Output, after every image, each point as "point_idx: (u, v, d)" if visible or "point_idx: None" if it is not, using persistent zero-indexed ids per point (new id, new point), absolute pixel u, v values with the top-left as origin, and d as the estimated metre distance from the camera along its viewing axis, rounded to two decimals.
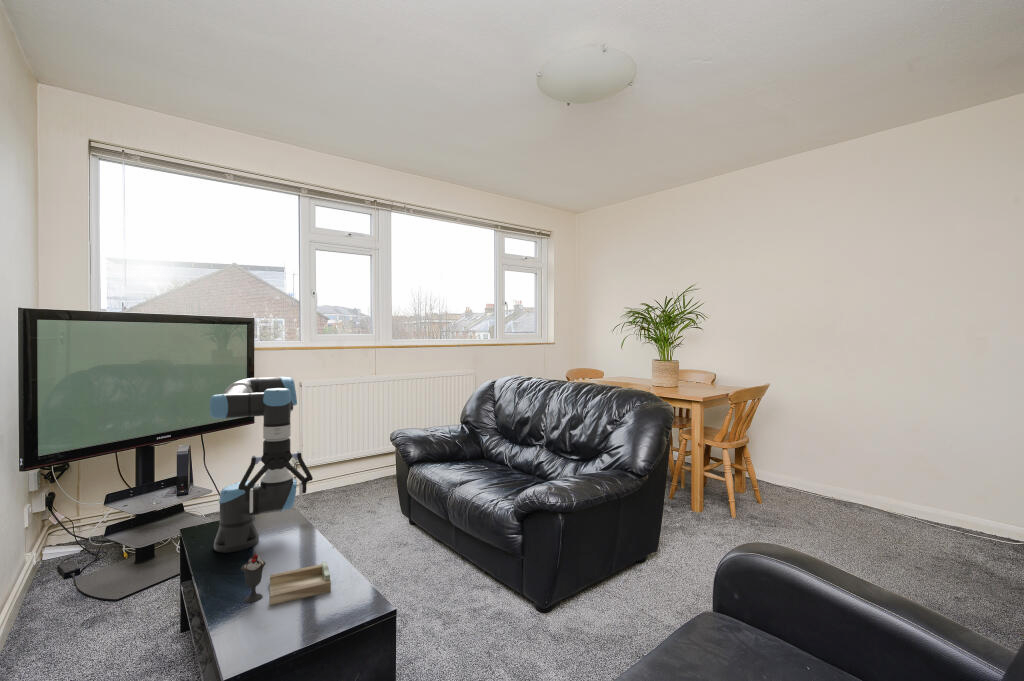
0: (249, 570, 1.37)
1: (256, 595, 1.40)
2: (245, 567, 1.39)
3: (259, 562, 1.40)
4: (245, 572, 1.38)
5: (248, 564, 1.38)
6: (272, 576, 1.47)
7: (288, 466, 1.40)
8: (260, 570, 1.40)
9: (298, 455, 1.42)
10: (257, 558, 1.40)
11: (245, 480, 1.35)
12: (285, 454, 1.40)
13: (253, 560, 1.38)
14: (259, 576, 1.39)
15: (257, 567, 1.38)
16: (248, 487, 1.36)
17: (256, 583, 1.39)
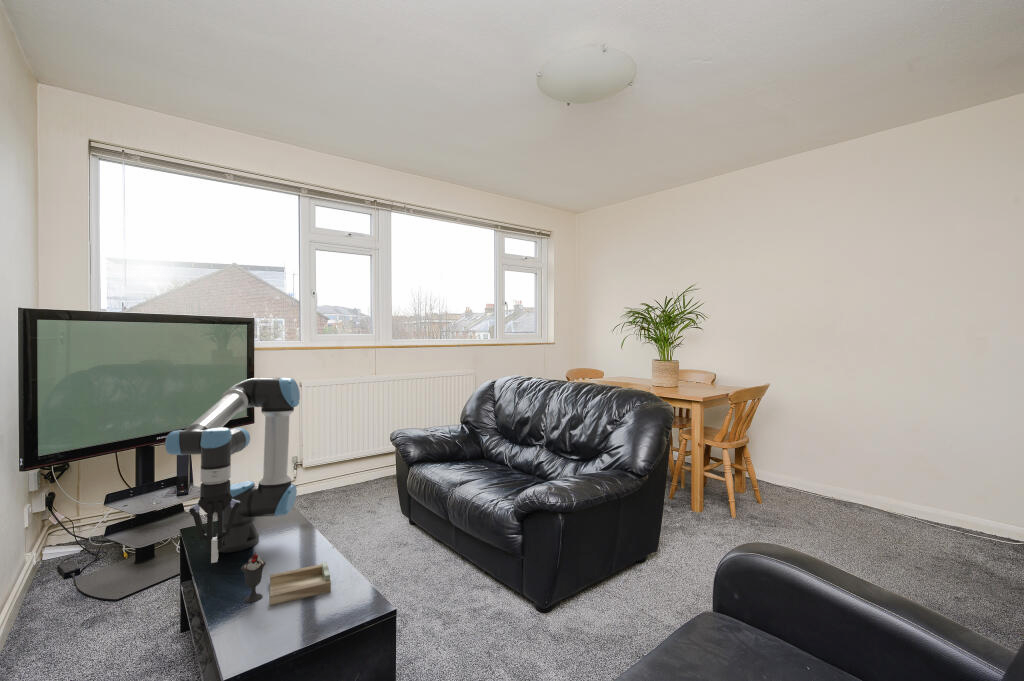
0: (249, 570, 1.37)
1: (256, 595, 1.40)
2: (245, 567, 1.39)
3: (259, 562, 1.40)
4: (245, 572, 1.38)
5: (248, 564, 1.38)
6: (272, 576, 1.47)
7: (220, 513, 1.34)
8: (260, 570, 1.40)
9: (236, 504, 1.37)
10: (257, 558, 1.40)
11: (200, 529, 1.33)
12: (227, 496, 1.36)
13: (253, 560, 1.38)
14: (259, 576, 1.39)
15: (257, 567, 1.38)
16: (208, 537, 1.33)
17: (256, 583, 1.39)
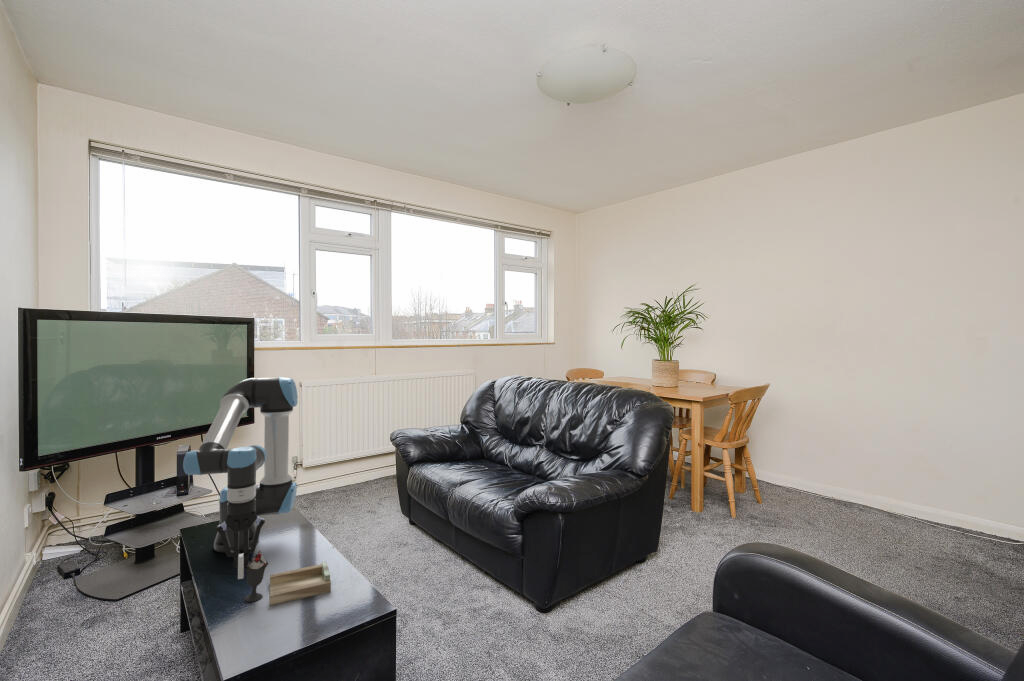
0: (252, 569, 1.38)
1: (256, 595, 1.40)
2: (248, 566, 1.39)
3: (262, 561, 1.40)
4: (248, 571, 1.38)
5: (251, 563, 1.39)
6: (272, 576, 1.47)
7: (246, 531, 1.38)
8: (262, 570, 1.40)
9: (261, 522, 1.40)
10: (260, 557, 1.40)
11: (227, 547, 1.36)
12: (253, 514, 1.39)
13: (256, 559, 1.39)
14: (261, 576, 1.40)
15: (259, 567, 1.39)
16: (235, 554, 1.37)
17: (257, 582, 1.39)
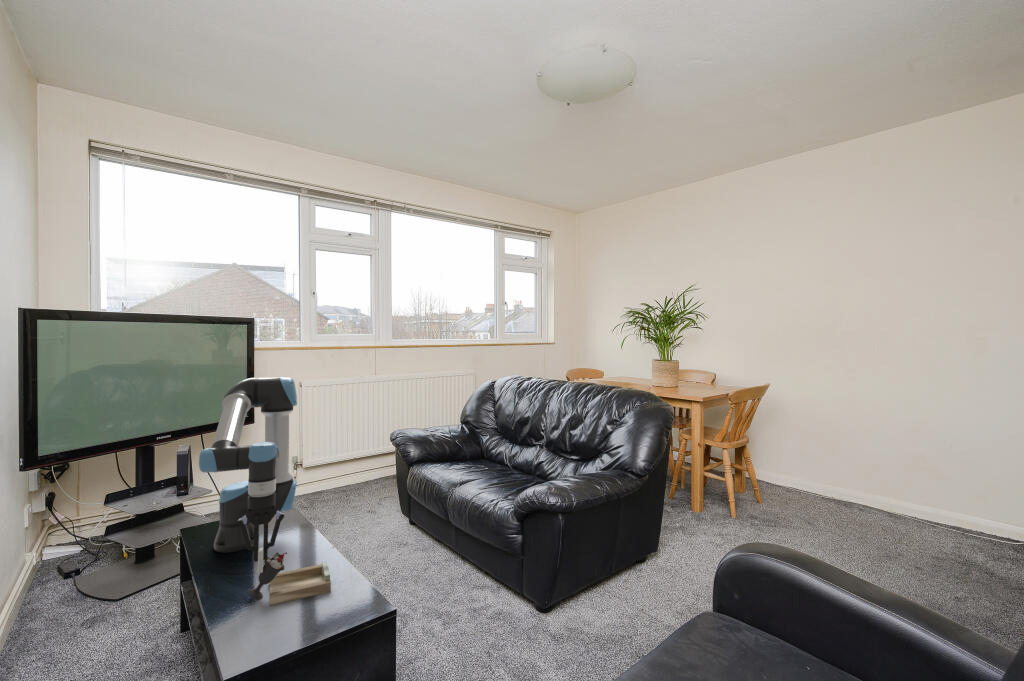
0: (271, 567, 1.39)
1: (259, 593, 1.40)
2: (268, 561, 1.41)
3: (282, 563, 1.42)
4: (266, 566, 1.40)
5: (273, 560, 1.41)
6: None
7: (266, 524, 1.40)
8: (278, 571, 1.41)
9: (281, 516, 1.42)
10: (282, 559, 1.42)
11: (248, 541, 1.38)
12: (272, 508, 1.41)
13: (279, 559, 1.41)
14: (273, 577, 1.41)
15: (278, 568, 1.40)
16: (255, 548, 1.39)
17: (267, 582, 1.40)
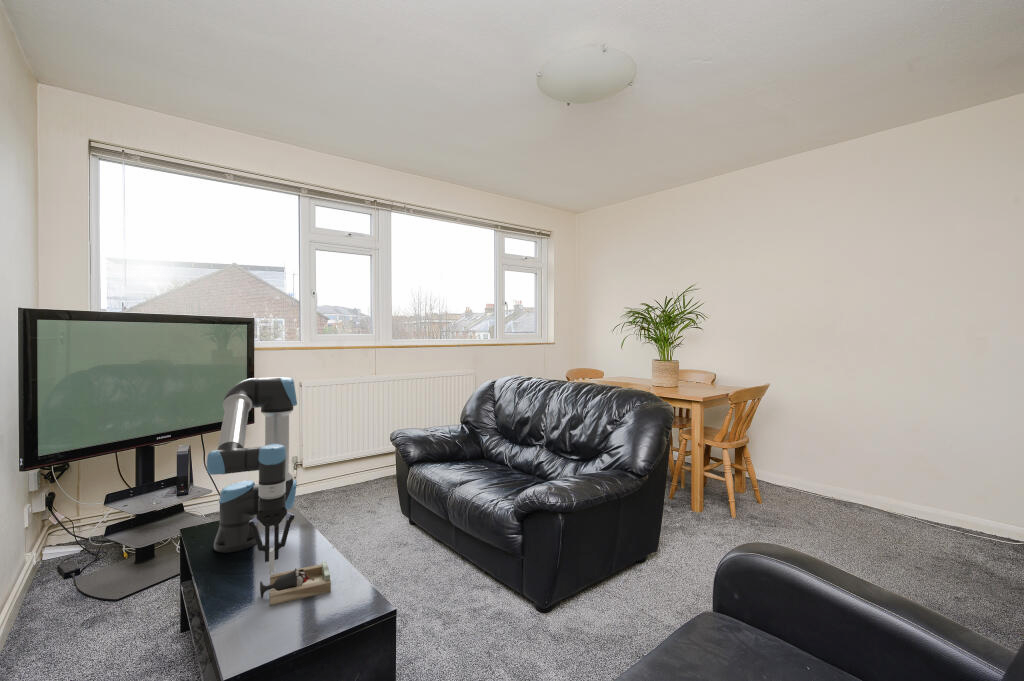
0: (296, 582, 1.42)
1: (264, 592, 1.41)
2: (296, 575, 1.43)
3: None
4: (293, 578, 1.42)
5: (300, 577, 1.44)
6: (272, 576, 1.47)
7: (276, 526, 1.42)
8: None
9: (291, 517, 1.44)
10: None
11: (259, 542, 1.40)
12: (283, 509, 1.43)
13: (305, 580, 1.44)
14: None
15: None
16: (266, 548, 1.41)
17: None
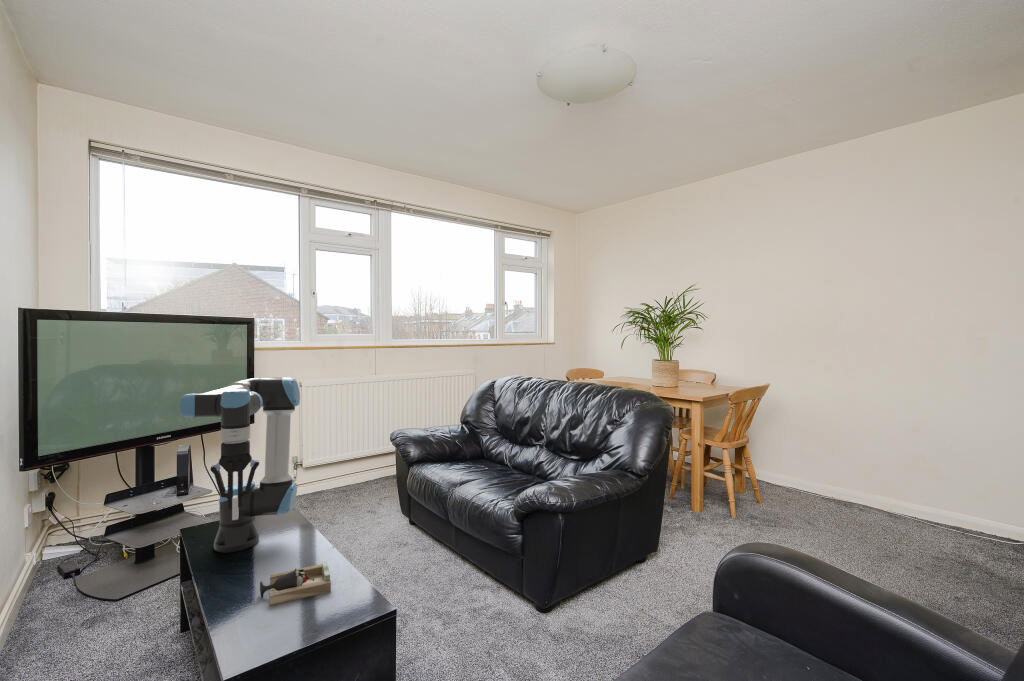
0: (296, 582, 1.42)
1: (264, 592, 1.41)
2: (296, 575, 1.43)
3: None
4: (293, 578, 1.42)
5: (300, 577, 1.44)
6: (272, 576, 1.47)
7: (240, 472, 1.37)
8: None
9: (255, 464, 1.39)
10: None
11: (221, 487, 1.35)
12: (247, 455, 1.38)
13: (305, 581, 1.44)
14: None
15: None
16: (229, 495, 1.36)
17: None
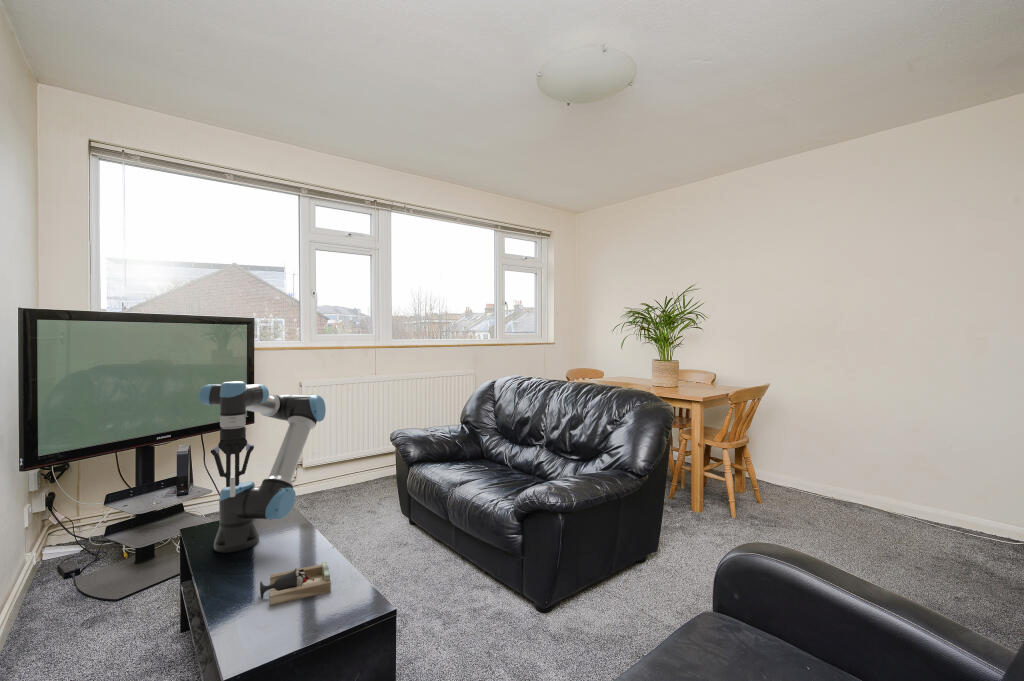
0: (296, 582, 1.42)
1: (264, 592, 1.41)
2: (296, 575, 1.43)
3: None
4: (293, 578, 1.42)
5: (300, 577, 1.44)
6: (272, 576, 1.47)
7: (237, 454, 1.55)
8: None
9: (251, 447, 1.57)
10: None
11: (220, 468, 1.53)
12: (243, 440, 1.56)
13: (305, 581, 1.44)
14: None
15: None
16: (227, 474, 1.54)
17: None
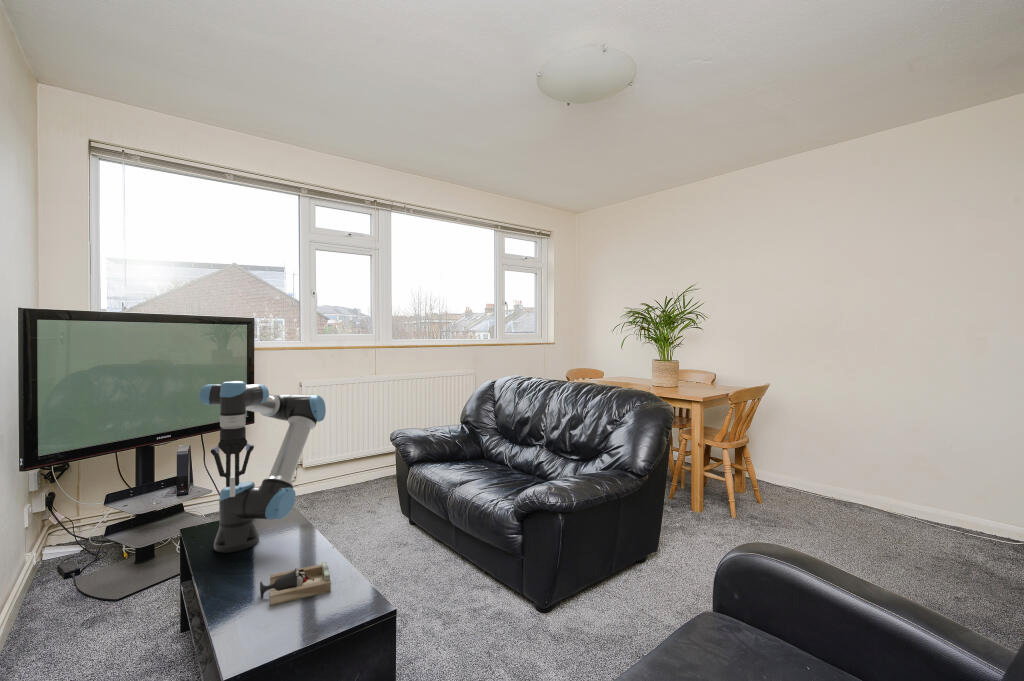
0: (296, 582, 1.42)
1: (264, 592, 1.41)
2: (296, 575, 1.43)
3: None
4: (293, 578, 1.42)
5: (300, 577, 1.44)
6: (272, 576, 1.47)
7: (237, 454, 1.55)
8: None
9: (250, 447, 1.57)
10: None
11: (220, 468, 1.53)
12: (243, 440, 1.56)
13: (305, 581, 1.44)
14: None
15: None
16: (227, 474, 1.54)
17: None
